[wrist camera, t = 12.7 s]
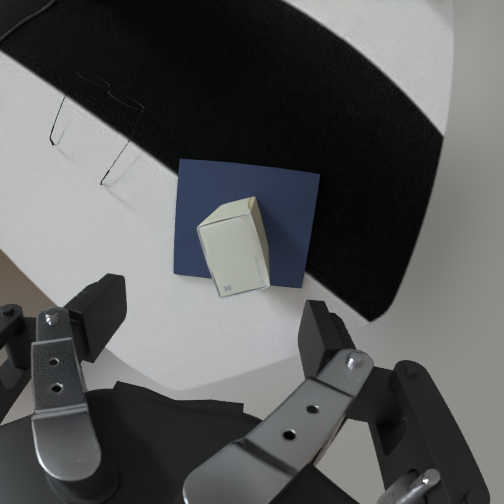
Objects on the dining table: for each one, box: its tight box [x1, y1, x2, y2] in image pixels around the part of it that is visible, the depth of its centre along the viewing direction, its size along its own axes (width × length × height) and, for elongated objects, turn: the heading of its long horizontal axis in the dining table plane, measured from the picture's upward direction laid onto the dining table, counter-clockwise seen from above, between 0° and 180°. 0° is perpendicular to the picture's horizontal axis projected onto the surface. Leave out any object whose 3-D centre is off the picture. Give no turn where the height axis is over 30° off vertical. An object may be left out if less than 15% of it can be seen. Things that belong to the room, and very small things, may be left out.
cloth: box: [174, 159, 320, 288], centre depth 33 cm, size 16×14×1 cm
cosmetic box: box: [197, 196, 270, 299], centre depth 27 cm, size 6×4×12 cm
